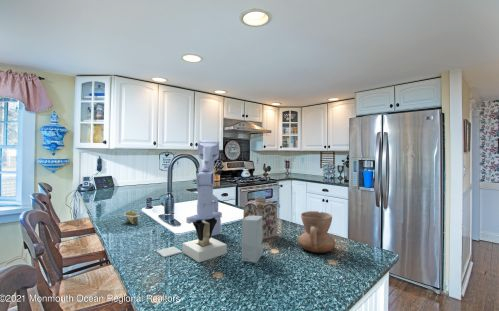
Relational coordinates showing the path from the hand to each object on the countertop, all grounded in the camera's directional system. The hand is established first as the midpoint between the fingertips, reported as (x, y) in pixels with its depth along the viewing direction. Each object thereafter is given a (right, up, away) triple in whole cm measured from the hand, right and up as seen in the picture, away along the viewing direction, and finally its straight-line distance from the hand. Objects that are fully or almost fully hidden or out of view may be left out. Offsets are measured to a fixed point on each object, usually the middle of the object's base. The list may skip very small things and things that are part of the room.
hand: (204, 238), depth 94 cm
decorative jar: (+22, -6, +22) cm, 32 cm away
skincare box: (+18, -6, -4) cm, 19 cm away
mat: (-14, -5, 0) cm, 14 cm away
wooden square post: (0, -3, 0) cm, 3 cm away
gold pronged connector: (-47, -5, +39) cm, 61 cm away
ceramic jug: (+44, -6, +5) cm, 45 cm away
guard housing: (0, -5, 0) cm, 5 cm away
